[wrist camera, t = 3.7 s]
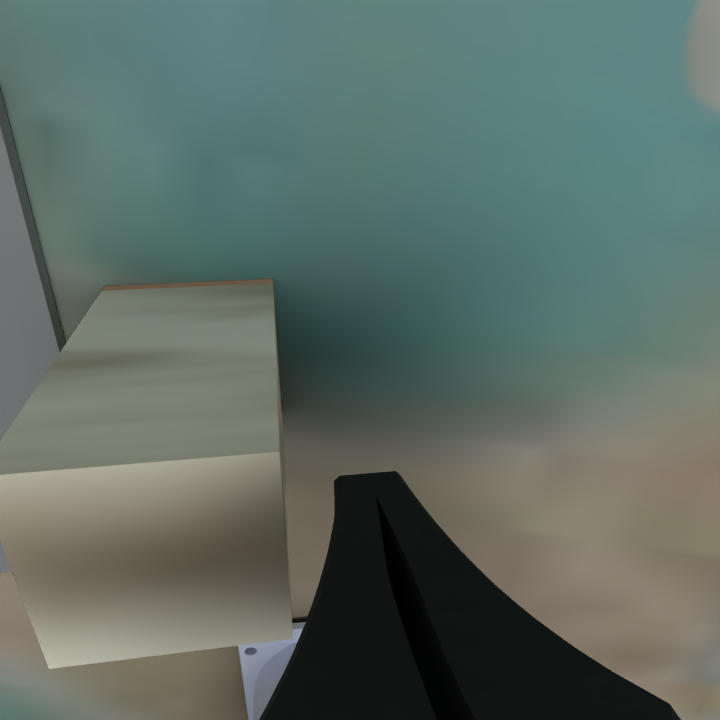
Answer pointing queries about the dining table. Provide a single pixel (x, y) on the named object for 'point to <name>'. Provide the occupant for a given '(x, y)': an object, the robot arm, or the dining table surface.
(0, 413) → the mat
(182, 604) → the block
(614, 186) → the dining table surface
